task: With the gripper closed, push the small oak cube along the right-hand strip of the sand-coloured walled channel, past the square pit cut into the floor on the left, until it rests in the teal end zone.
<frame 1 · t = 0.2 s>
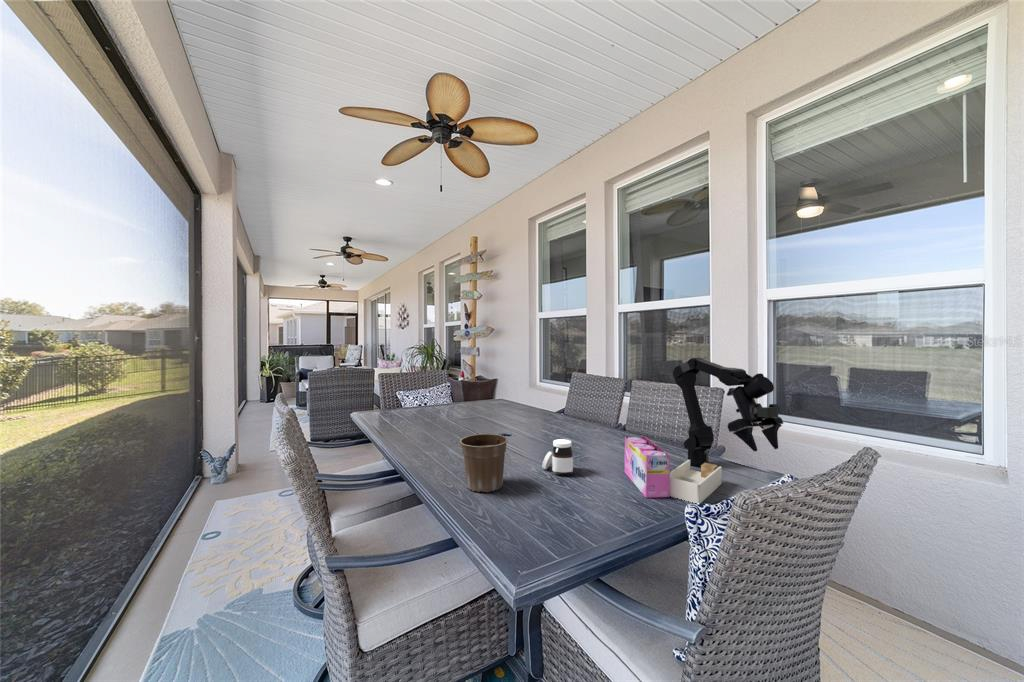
hand: (766, 450, 130), 14 cm above the table, tool tilted 30°, fingers open, 9 cm apart
spread jar: (557, 472, 152), on the table
plant pot: (484, 486, 139), on the table
gum box: (645, 484, 139), on the table, touching channel
oak block: (709, 476, 139), point 2 cm above the table, touching channel
channel: (693, 489, 135), on the table
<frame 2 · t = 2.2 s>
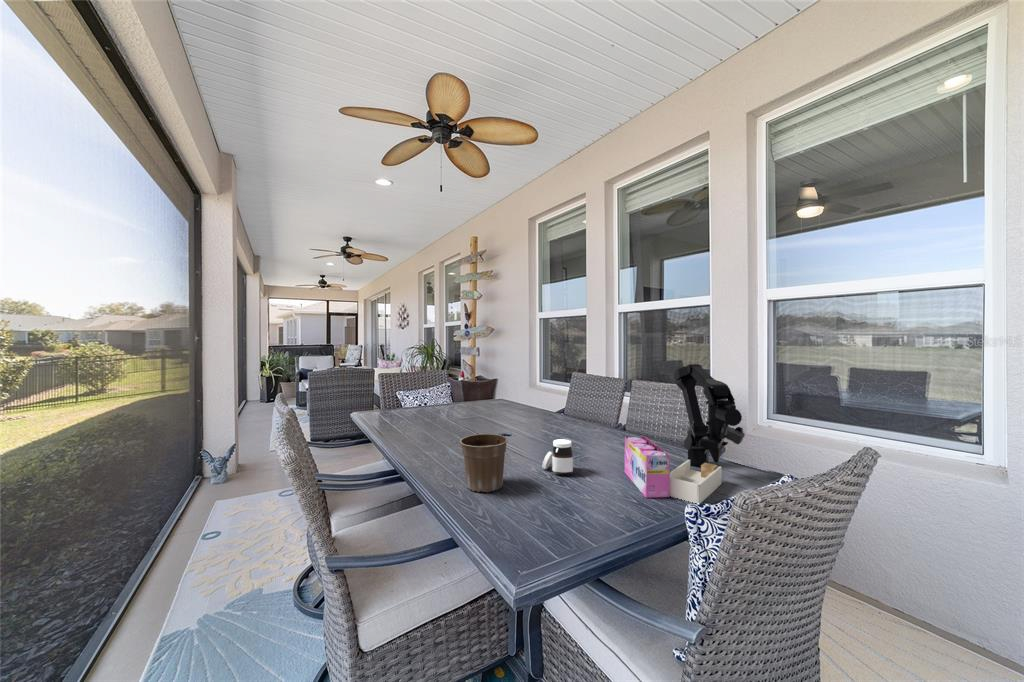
hand: (716, 462, 145), 6 cm above the table, tool pointing down, fingers closed
nothing on the table moved.
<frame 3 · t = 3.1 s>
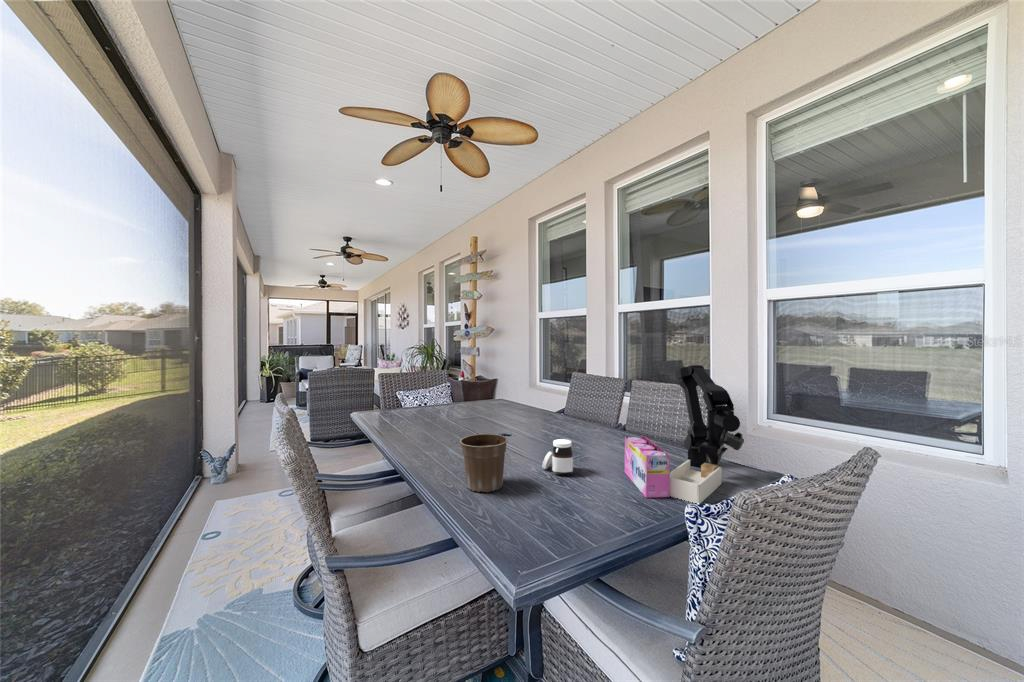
hand: (715, 468, 144), 4 cm above the table, tool pointing down, fingers closed
nothing on the table moved.
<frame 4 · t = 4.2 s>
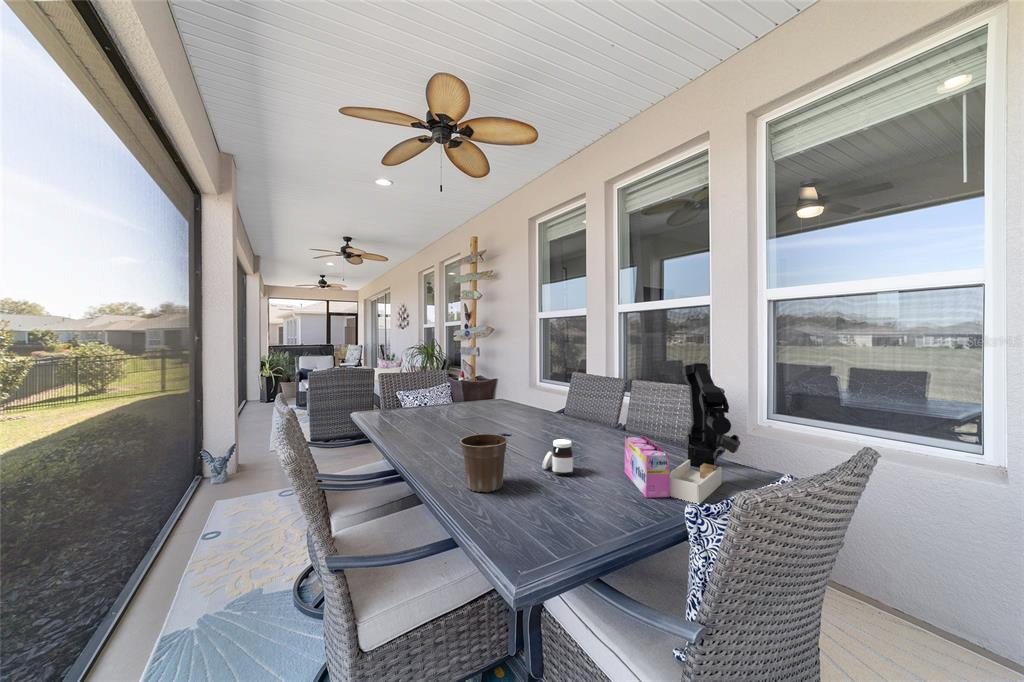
hand: (711, 471, 141), 4 cm above the table, tool pointing down, fingers closed
oak block: (708, 477, 138), point 2 cm above the table, touching channel, gripper
everything else where it was.
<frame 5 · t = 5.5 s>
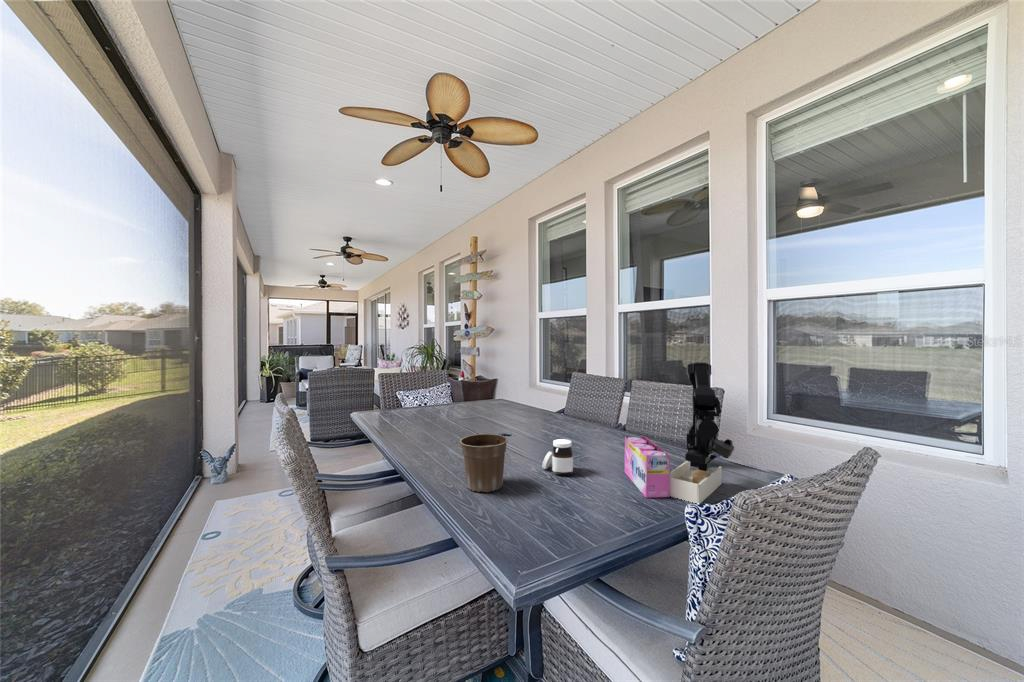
hand: (704, 477, 135), 4 cm above the table, tool pointing down, fingers closed
oak block: (700, 484, 133), point 2 cm above the table, touching channel, gripper
everything else where it was.
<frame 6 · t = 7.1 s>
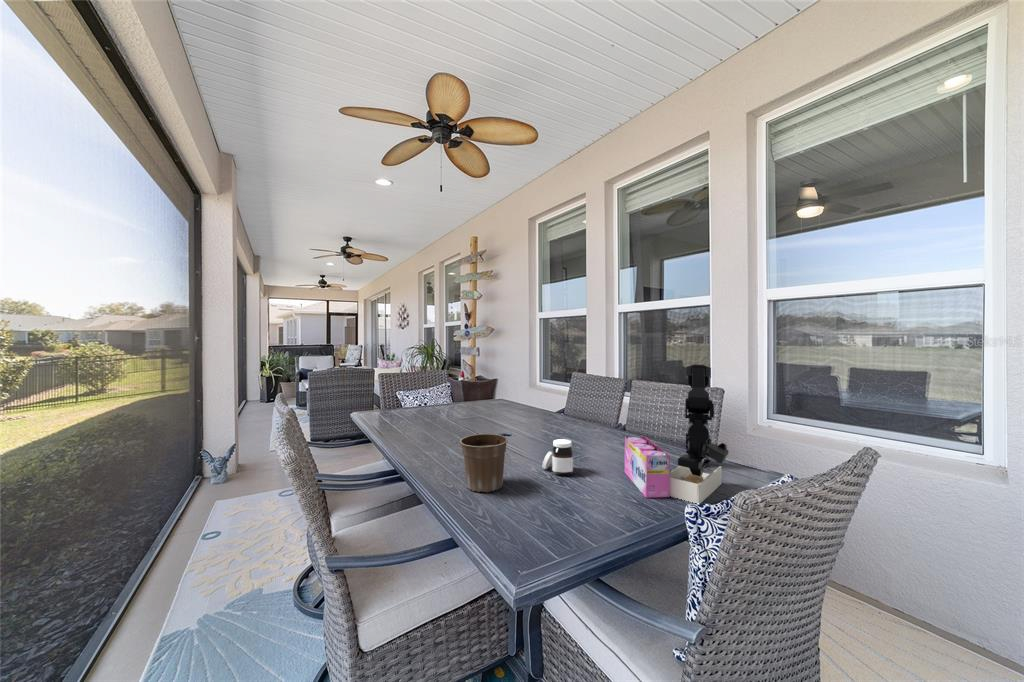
hand: (697, 482, 131), 4 cm above the table, tool pointing down, fingers closed
oak block: (694, 489, 128), point 2 cm above the table, touching channel, gripper
everything else where it was.
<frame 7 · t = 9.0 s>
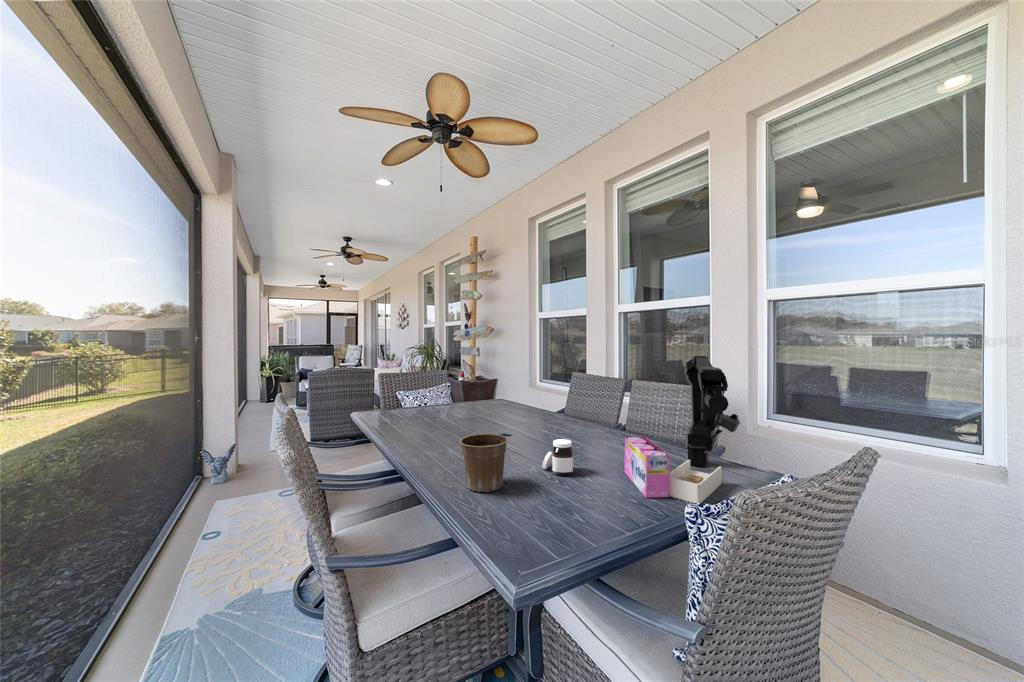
hand: (710, 451, 138), 12 cm above the table, tool pointing down, fingers closed
oak block: (694, 489, 128), point 2 cm above the table, touching channel
everything else where it was.
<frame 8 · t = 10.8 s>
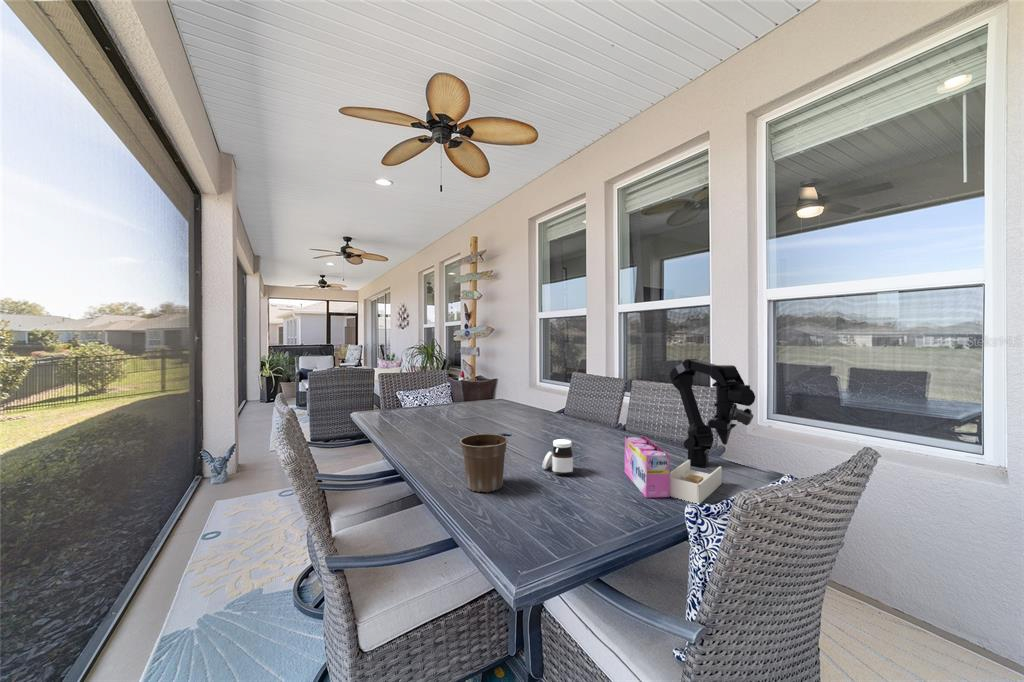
hand: (724, 444, 145), 12 cm above the table, tool pointing down, fingers closed
nothing on the table moved.
at the end: oak block inside the target area on the channel (2.6 cm from its centre), point 2.5 cm above the channel's base; oak block tilted 0° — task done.
